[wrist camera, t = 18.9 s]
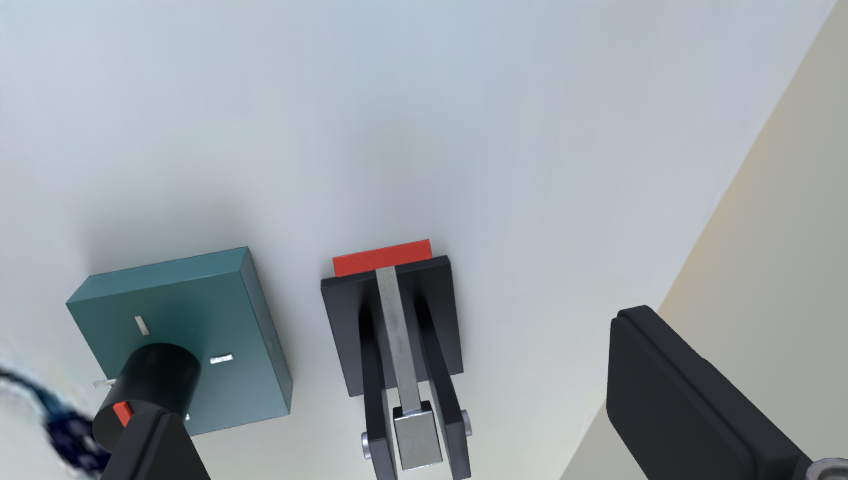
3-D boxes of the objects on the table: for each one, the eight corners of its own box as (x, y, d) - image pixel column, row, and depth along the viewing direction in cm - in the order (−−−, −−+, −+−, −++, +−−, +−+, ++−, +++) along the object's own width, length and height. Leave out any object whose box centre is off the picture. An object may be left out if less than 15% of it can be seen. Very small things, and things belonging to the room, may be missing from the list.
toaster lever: (335, 258, 29) (330, 257, 27) (426, 241, 30) (429, 238, 27) (373, 462, 28) (372, 479, 26) (465, 441, 29) (473, 455, 26)
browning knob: (210, 388, 33) (190, 453, 28) (142, 402, 32) (110, 471, 27) (187, 335, 31) (160, 396, 26) (114, 350, 30) (73, 415, 25)
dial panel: (148, 414, 37) (131, 451, 34) (75, 278, 31) (48, 307, 28) (293, 383, 38) (289, 416, 35) (247, 245, 32) (238, 271, 29)
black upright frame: (320, 279, 34) (314, 410, 23) (447, 254, 35) (498, 370, 24) (349, 386, 39) (355, 539, 28) (460, 362, 39) (509, 501, 28)
